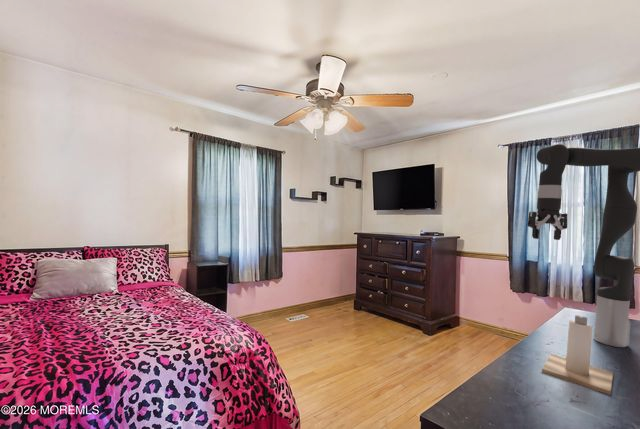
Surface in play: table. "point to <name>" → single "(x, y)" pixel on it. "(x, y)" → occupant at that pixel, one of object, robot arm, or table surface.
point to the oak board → (579, 375)
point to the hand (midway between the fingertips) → (546, 239)
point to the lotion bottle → (579, 345)
